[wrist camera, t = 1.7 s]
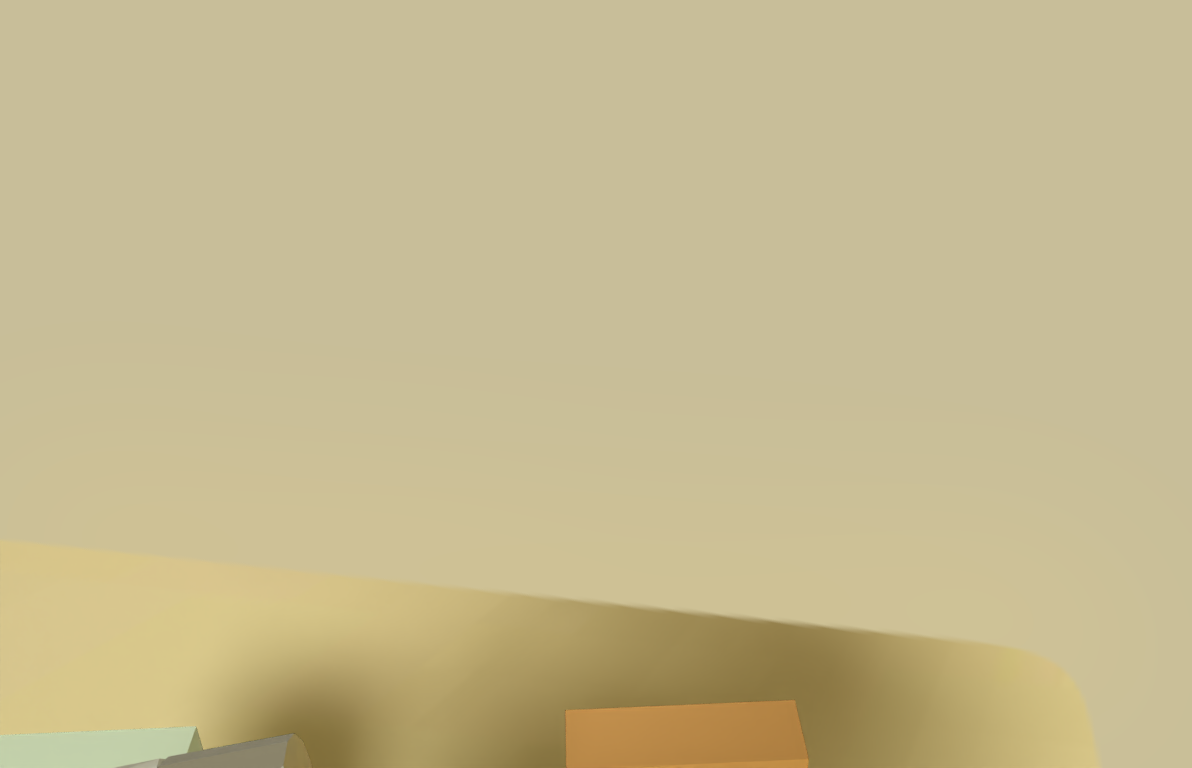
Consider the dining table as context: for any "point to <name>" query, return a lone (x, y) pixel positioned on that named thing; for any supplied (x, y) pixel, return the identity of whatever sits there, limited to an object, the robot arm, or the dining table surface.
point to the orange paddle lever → (687, 736)
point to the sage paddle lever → (96, 747)
